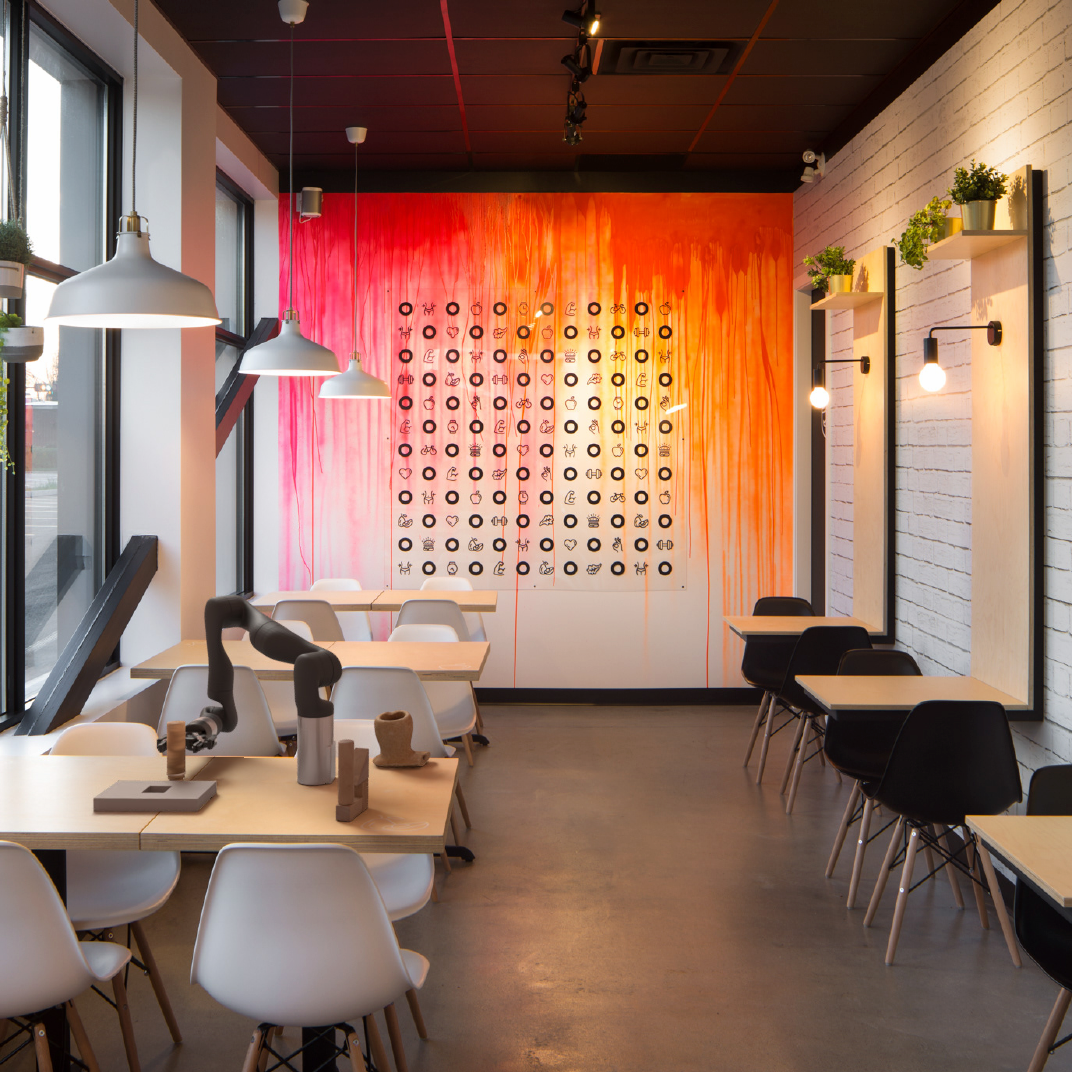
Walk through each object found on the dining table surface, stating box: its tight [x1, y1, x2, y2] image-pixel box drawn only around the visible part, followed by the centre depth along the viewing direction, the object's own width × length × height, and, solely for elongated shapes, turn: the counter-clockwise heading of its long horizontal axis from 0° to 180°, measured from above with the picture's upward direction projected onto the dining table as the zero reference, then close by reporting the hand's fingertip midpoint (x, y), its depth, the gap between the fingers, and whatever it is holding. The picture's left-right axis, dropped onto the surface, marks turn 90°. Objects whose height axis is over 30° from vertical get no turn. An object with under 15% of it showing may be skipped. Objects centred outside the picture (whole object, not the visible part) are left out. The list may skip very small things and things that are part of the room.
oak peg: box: [166, 720, 187, 781], centre depth 244 cm, size 5×5×16 cm
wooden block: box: [335, 738, 370, 823], centre depth 223 cm, size 4×11×18 cm, turn 167°
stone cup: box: [372, 709, 432, 767], centre depth 264 cm, size 15×12×15 cm
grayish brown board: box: [92, 779, 218, 813], centre depth 231 cm, size 24×14×3 cm, turn 91°
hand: (177, 749), depth 245 cm, fingers open, 8 cm apart
